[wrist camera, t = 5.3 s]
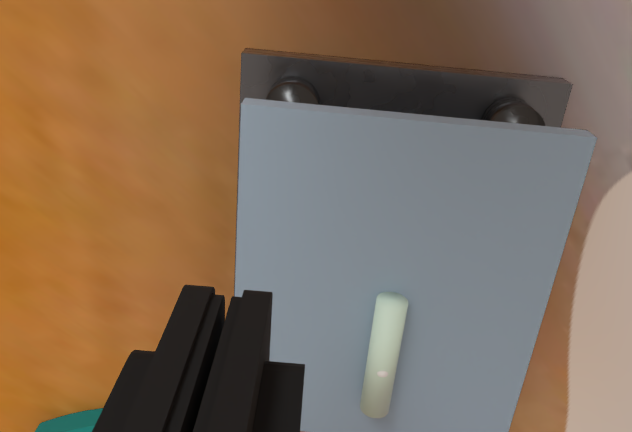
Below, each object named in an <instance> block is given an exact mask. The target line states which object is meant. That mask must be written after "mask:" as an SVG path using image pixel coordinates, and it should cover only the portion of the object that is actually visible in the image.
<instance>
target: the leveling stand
mask: <svg viewBox="0 0 632 432" xmlns="http://www.w3.org/2000/svg"><path fill="white" fill-rule="evenodd" d="M572 85H573V84H571V83H570V82H568V81H567V80H565V79H564V78H556V77H545V76H535V75H524V74H514V73H503V72H493V71H482V70H472V69H461V68H451V67H440V66H430V65H419V64H409V63H398V62H387V61H377V60H366V59H356V58H345V57H335V56H324V55H314V54H303V53H293V52H282V51H272V50H261V49H251V48H245V49H244V50H243V52H242V53H241V85H240V118H239V151H240V121H241V103H242V102H243V100H244V98H253V99H263V100H274V101H285V102H295V103H306V104H316V105H327V106H337V107H348V108H359V109H369V110H380V111H390V112H401V113H412V114H422V115H433V116H443V117H454V118H464V119H475V120H486V121H496V122H507V123H517V124H528V125H539V126H549V127H560V128H561V124H562V121H563V117H564V114H565V110H566V106H567V103H568V99H569V96H570V92H571V89H572ZM238 181H239V152H238ZM237 211H238V185H237ZM236 241H237V218H236ZM235 271H236V252H235ZM234 296H235V285H234Z"/></svg>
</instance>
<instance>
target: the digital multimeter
mask: <svg viewBox="0 0 632 432" xmlns="http://www.w3.org/2000/svg"><path fill="white" fill-rule="evenodd" d="M102 410H103V408H101V409H94V410H87V411H82V412H77V413H73V414H69V415H65V416H61V417H58V418H55V419H51V420H48V421H45V422H42V423H40V424H39V426H38V428H37V429H36V431H35V432H92V430H93V428H94V426H95V424H96V422H97V420H98V418H99V416H100V414H101V412H102Z"/></svg>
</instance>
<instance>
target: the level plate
mask: <svg viewBox="0 0 632 432" xmlns="http://www.w3.org/2000/svg"><path fill="white" fill-rule="evenodd" d="M596 140H597V137H596V136H594V135H593V134H592V133H590V132H589V131H588V130H581V129H570V128H560V127H549V126H539V125H528V124H517V123H507V122H496V121H486V120H475V119H464V118H454V117H443V116H433V115H422V114H412V113H401V112H390V111H380V110H369V109H359V108H348V107H337V106H327V105H316V104H306V103H295V102H285V101H274V100H263V99H253V98H244V100H243V102H242V103H241V121H240V151H239V181H238V211H237V241H236V271H235V296H236V297H242V295H243V291H244V290H254V291H266V292H272V294H273V298H272V319H271V338H270V357H269V361H273V362H285V363H297V364H305V373H304V386H303V399H302V412H301V425H300V431H306V432H509V428H510V425H511V422H512V418H513V415H514V412H515V408H516V405H517V402H518V399H519V395H520V392H521V389H522V385H523V382H524V379H525V375H526V372H527V369H528V365H529V362H530V359H531V355H532V352H533V349H534V346H535V342H536V339H537V336H538V332H539V329H540V326H541V322H542V319H543V316H544V312H545V309H546V306H547V303H548V299H549V296H550V293H551V289H552V286H553V283H554V279H555V276H556V273H557V269H558V266H559V263H560V260H561V256H562V253H563V250H564V246H565V243H566V240H567V236H568V233H569V230H570V226H571V223H572V220H573V217H574V213H575V210H576V207H577V203H578V200H579V197H580V193H581V190H582V187H583V183H584V180H585V177H586V174H587V170H588V167H589V164H590V160H591V157H592V154H593V150H594V147H595V144H596Z"/></svg>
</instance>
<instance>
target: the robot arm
mask: <svg viewBox="0 0 632 432" xmlns="http://www.w3.org/2000/svg"><path fill="white" fill-rule="evenodd" d="M272 298H273V294H272V292H266V291H254V290H244V291H243V295H242V297H236V296H232V298H231V301H230V305H229V308H228V312H227V315H226V319H225V298H224V295H215V289H214V287H207V286H195V285H184V287H183V289H182V291H181V293H180V296H179V298H178V300H177V303H176V305H175V307H174V310H173V312H172V314H171V317H170V319H169V321H168V324H167V326H166V328H165V330H164V333H163V335H162V337H161V340H160V342H159V344H158V347H157V349H156V351H155V352H153V351H141V350H134V351H133V352H131V354H130V355H129V357H128V359H127V361H126V363H125V365H124V367H123V369H122V371H121V373H120V375H119V377H118V379H117V381H116V383H115V385H114V387H113V389H112V392H111V394H110V396H109V398H108V400H107V402H106V404H105V406H104V408H103V410H102V412H101V414H100V416H99V418H98V420H97V422H96V424H95V426H94V428H93V430H92V432H300V425H301V412H302V399H303V386H304V373H305V364H297V363H285V362H273V361H269V357H270V338H271V319H272Z"/></svg>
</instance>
